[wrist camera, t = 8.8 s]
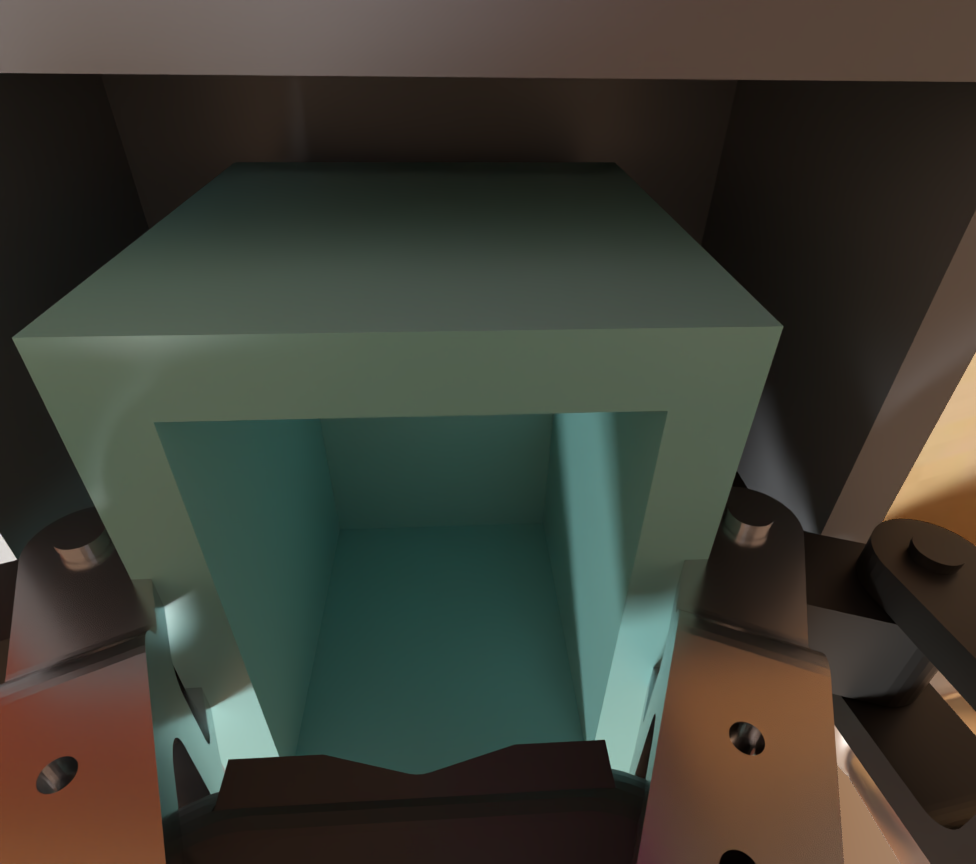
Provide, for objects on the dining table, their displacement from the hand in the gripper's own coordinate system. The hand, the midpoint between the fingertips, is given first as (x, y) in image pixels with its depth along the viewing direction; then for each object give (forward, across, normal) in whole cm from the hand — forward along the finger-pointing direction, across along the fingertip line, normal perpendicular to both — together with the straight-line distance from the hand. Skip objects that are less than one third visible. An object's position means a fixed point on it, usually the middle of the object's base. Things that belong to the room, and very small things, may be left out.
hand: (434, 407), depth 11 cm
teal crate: (+1, 0, 0) cm, 1 cm away
